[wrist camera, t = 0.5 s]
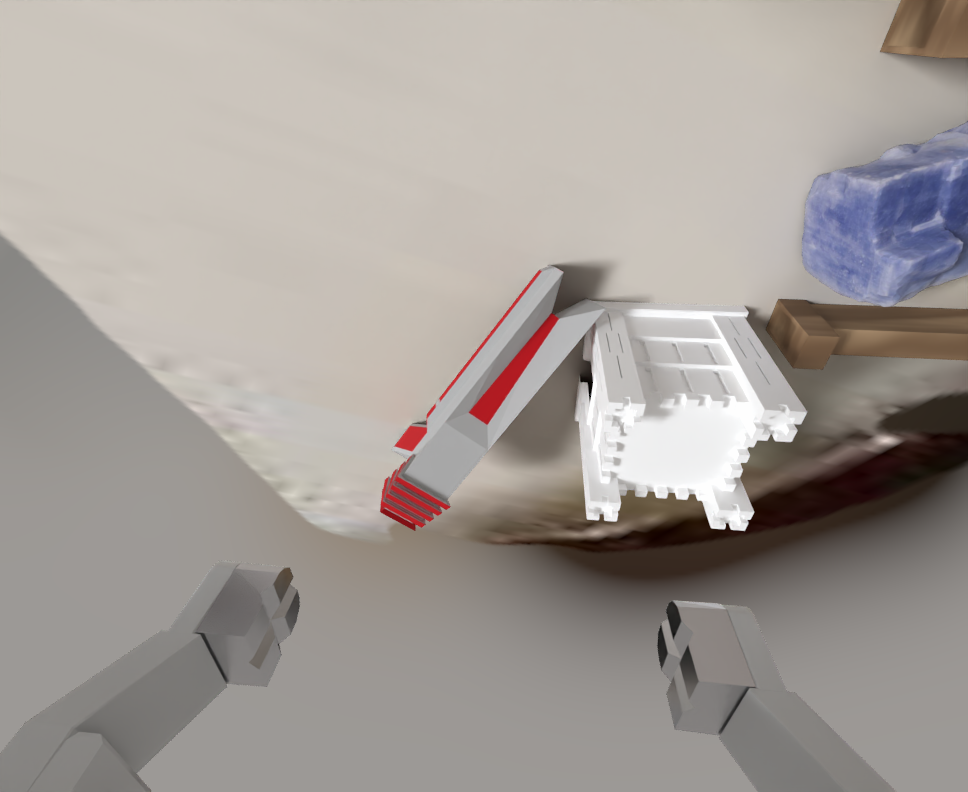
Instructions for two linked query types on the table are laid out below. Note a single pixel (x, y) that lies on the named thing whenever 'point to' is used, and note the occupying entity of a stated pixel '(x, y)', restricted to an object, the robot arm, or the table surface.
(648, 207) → the table surface
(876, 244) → the mineral
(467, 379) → the toy gun
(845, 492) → the table surface
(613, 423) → the castle model
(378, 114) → the table surface
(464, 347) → the table surface
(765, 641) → the robot arm
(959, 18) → the wooden brackets
